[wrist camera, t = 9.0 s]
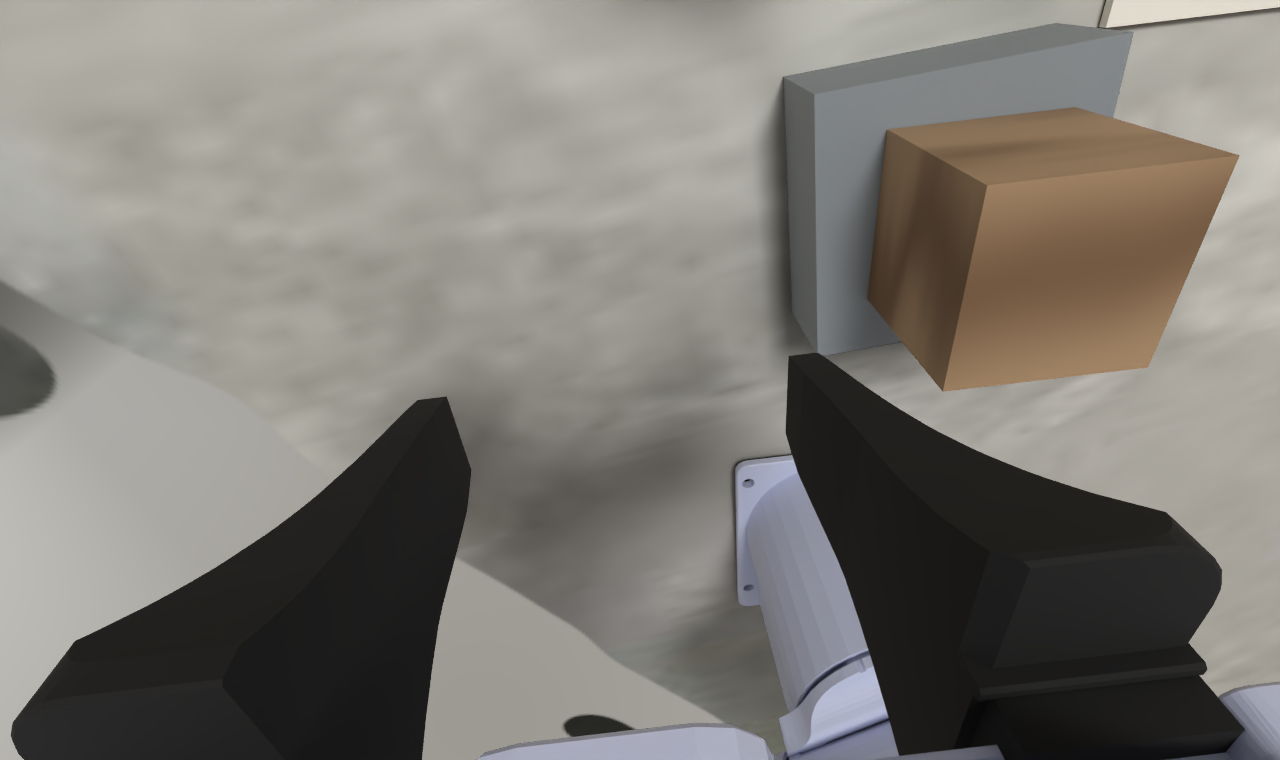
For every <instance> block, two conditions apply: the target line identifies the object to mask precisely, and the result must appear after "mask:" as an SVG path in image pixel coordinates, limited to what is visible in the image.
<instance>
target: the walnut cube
mask: <svg viewBox="0 0 1280 760" xmlns="http://www.w3.org/2000/svg"><path fill="white" fill-rule="evenodd" d="M1238 158H1239V155H1236V154H1233V153H1229V152H1226V151H1223V150H1219V149H1216V148H1212V147H1209V146H1206V145H1202V144H1199V143H1195V142H1192V141H1189V140H1185V139H1182V138H1178V137H1175V136H1172V135H1168V134H1165V133H1162V132H1158V131H1155V130H1151V129H1148V128H1145V127H1141V126H1138V125H1134V124H1131V123H1128V122H1124V121H1121V120H1117V119H1114V118H1111V117H1107V116H1104V115H1101V114H1097V113H1094V112H1090V111H1087V110H1084V109H1080V108H1077V107H1072V108H1064V109H1055V110H1047V111H1038V112H1030V113H1021V114H1013V115H1005V116H996V117H988V118H979V119H971V120H962V121H954V122H946V123H937V124H929V125H920V126H912V127H903V128H895V129H887V135H886V143H885V152H884V160H883V169H882V177H881V185H880V194H879V202H878V210H877V219H876V227H875V236H874V244H873V252H872V261H871V269H870V278H869V286H868V294H867V300H868V301H869V302H870V303H871V305H872V306H873V307H874V308H875V310H876V311H877V312H878V313H879V314H880V316H881V317H882V318H883V319H884V321H885V322H886V323H887V324H888V325H889V327H890V328H891V329H892V330H893V331H894V333H895V334H896V335H897V336H898V338H899V339H900V340H901V341H902V342H903V344H904V345H905V346H906V347H907V348H908V350H909V351H910V352H911V353H912V355H913V356H914V357H915V358H916V359H917V361H918V362H919V363H920V364H921V366H922V367H923V368H924V369H925V370H926V372H927V373H928V374H929V375H930V376H931V378H932V379H933V380H934V381H935V383H936V384H937V385H938V386H939V387H940V389H941V390H942V391H951V390H960V389H968V388H977V387H985V386H994V385H1002V384H1011V383H1019V382H1028V381H1036V380H1045V379H1053V378H1062V377H1070V376H1078V375H1087V374H1095V373H1104V372H1112V371H1121V370H1129V369H1138V368H1146V367H1148V366H1149V364H1150V362H1151V359H1152V357H1153V355H1154V352H1155V350H1156V348H1157V345H1158V343H1159V341H1160V338H1161V336H1162V334H1163V332H1164V329H1165V327H1166V325H1167V322H1168V320H1169V318H1170V315H1171V313H1172V311H1173V308H1174V306H1175V304H1176V301H1177V299H1178V297H1179V295H1180V292H1181V290H1182V288H1183V285H1184V283H1185V281H1186V278H1187V276H1188V274H1189V271H1190V269H1191V267H1192V264H1193V262H1194V260H1195V257H1196V255H1197V253H1198V251H1199V248H1200V246H1201V244H1202V241H1203V239H1204V237H1205V234H1206V232H1207V230H1208V227H1209V225H1210V223H1211V220H1212V218H1213V216H1214V213H1215V211H1216V209H1217V207H1218V204H1219V202H1220V200H1221V197H1222V195H1223V193H1224V190H1225V188H1226V186H1227V183H1228V181H1229V179H1230V176H1231V174H1232V172H1233V169H1234V167H1235V165H1236V163H1237V160H1238Z"/></svg>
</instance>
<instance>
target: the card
mask: <svg viewBox="0 0 1280 760" xmlns="http://www.w3.org/2000/svg"><path fill="white" fill-rule="evenodd" d="M1276 7H1280V0H1106V3H1105V7H1104V10H1103V14H1102V18H1101V21H1100V25H1099V27H1102V28H1109V27H1118V26H1126V25H1134V24H1143V23H1151V22H1159V21H1168V20H1176V19H1184V18H1193V17H1201V16H1209V15H1218V14H1226V13H1234V12H1243V11H1251V10H1259V9H1268V8H1276Z"/></svg>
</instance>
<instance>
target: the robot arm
mask: <svg viewBox="0 0 1280 760" xmlns="http://www.w3.org/2000/svg"><path fill="white" fill-rule="evenodd" d="M786 436H787V439H788V442H789V446H790V449H791V453H792V455H789V456H781V457H772V458H764V459H755V460H747V461H743V462H741V463H739V464H738V465H737V466H736V469H735V494H736V546H737V596H738V600H739V603H740V604H741V605H743V606H755V605H760V607H761V611H762V615H763V619H764V622H765V626H766V630H767V634H768V638H769V642H770V645H771V649H772V653H773V657H774V661H775V664H776V668H777V672H778V676H779V680H780V684H781V687H782V691H783V695H784V699H785V703H786V706H787V709H788V712H789V713H788V714H786V715H784V716H782V717H780V718H779V724H780V728H781V732H782V736H783V740H784V744H785V748H786V751H784V752H781V753H778V754H777V755H776V756H774V757H773V756H772V754H771V752H770V750H769V748H768V746H767V744H766V743H765V741H764V739H762V738H761V737H759V736H758V735H756V734H754V733H751V732H749V731H746V730H744V729H741V728H739V727H736V726H734V725H731V724H715V723H711V724H710V723H689V724H680V725H672V726H663V727H655V728H646V729H638V730H629V731H621V732H612V733H603V734H595V735H586V736H578V737H569V738H561V739H552V740H544V741H535V742H527V743H519V744H515V745H511V746H507V747H503V748H500V749H496V750H493V751H489V752H485V753H484V754H483V755H481V756H480V757H479V758H478V759H476V760H1280V682H1273V683H1264V684H1256V685H1247V686H1243V687H1239V688H1234V689H1232V690H1230V691H1228V692H1226V693H1223V694H1221V695H1220V696H1219V697H1217V696H1216V695H1215V693H1214V692H1213V691H1212V690H1211V689H1210V688H1209V686H1208V685H1207V684H1206V683H1205V682H1204V681H1203V679H1202V678H1201V677H1200V676H1199V675H1204V673H1205V672H1206V670H1207V666H1206V663H1205V661H1204V660H1203V659H1202V658H1201V657H1200V656H1199V655H1198V653H1197V652H1196V651H1195V650H1194V649H1193V648H1192V647H1191V645H1190V644H1189V643H1188V642H1189V641H1190V639H1191V638H1192V636H1193V635H1194V633H1195V632H1196V630H1197V629H1198V627H1199V626H1200V624H1201V623H1202V621H1203V620H1204V618H1205V617H1206V615H1207V614H1208V612H1209V611H1210V609H1211V608H1212V606H1213V605H1214V602H1215V600H1216V598H1217V596H1218V594H1219V592H1220V589H1221V585H1222V569H1221V568H1220V566H1219V564H1218V563H1217V561H1216V559H1215V558H1214V557H1213V556H1212V555H1211V554H1210V553H1209V552H1208V551H1207V550H1206V549H1205V548H1204V547H1202V546H1201V545H1200V544H1199V543H1198V542H1197V541H1196V540H1195V539H1194V538H1193V537H1192V536H1191V535H1190V534H1189V533H1188V532H1187V531H1186V530H1185V529H1183V528H1182V527H1181V526H1180V525H1179V524H1178V523H1177V522H1176V521H1175V520H1174V519H1173V518H1172V517H1171V516H1169V515H1168V514H1167V513H1166V512H1163V511H1159V510H1155V509H1151V508H1148V507H1144V506H1140V505H1136V504H1132V503H1128V502H1124V501H1120V500H1117V499H1113V498H1109V497H1105V496H1101V495H1097V494H1094V493H1090V492H1087V491H1084V490H1081V489H1078V488H1075V487H1071V486H1068V485H1065V484H1062V483H1059V482H1056V481H1053V480H1050V479H1047V478H1044V477H1041V476H1038V475H1036V474H1033V473H1030V472H1027V471H1025V470H1022V469H1019V468H1017V467H1015V466H1012V465H1010V464H1007V463H1005V462H1002V461H1000V460H997V459H995V458H992V457H990V456H988V455H985V454H983V453H981V452H978V451H976V450H974V449H972V448H970V447H968V446H966V445H964V444H962V443H960V442H958V441H956V440H954V439H952V438H950V437H948V436H945V435H943V434H941V433H940V432H938V431H936V430H934V429H932V428H930V427H929V426H927V425H925V424H923V423H922V422H920V421H918V420H917V419H915V418H913V417H912V416H910V415H908V414H907V413H905V412H903V411H902V410H900V409H898V408H897V407H895V406H894V405H892V404H891V403H889V402H887V401H886V400H884V399H883V398H881V397H880V396H878V395H877V394H876V393H874V392H873V391H871V390H870V389H868V388H867V387H865V386H864V385H863V384H861V383H860V382H858V381H857V380H856V379H854V378H853V377H851V376H850V375H849V374H847V373H846V372H844V371H843V370H842V369H840V368H839V367H838V366H836V365H835V364H833V363H832V362H831V361H829V360H828V359H827V358H825V357H824V356H822V355H821V354H819V353H811V354H802V355H794V356H789V363H788V388H787V413H786ZM470 478H471V468H470V465H469V462H468V459H467V456H466V453H465V450H464V447H463V444H462V441H461V438H460V435H459V432H458V429H457V426H456V423H455V420H454V417H453V414H452V411H451V408H450V405H449V402H448V399H447V397H440V398H431V399H423V400H417V401H416V402H415V403H414V404H413V405H412V406H411V407H410V408H408V409H407V410H406V411H405V412H404V413H403V414H402V415H401V416H400V417H399V418H398V419H397V420H396V421H395V422H394V423H393V424H392V425H391V426H390V427H389V428H388V429H387V430H386V431H385V432H384V433H383V434H382V435H381V436H380V437H379V438H378V439H377V440H376V441H375V442H374V443H373V444H372V445H371V446H370V447H369V448H368V449H367V450H366V451H365V452H364V453H363V454H362V455H361V456H360V457H359V458H358V459H357V460H356V461H355V462H354V463H353V464H352V465H350V466H349V467H348V468H347V469H346V470H345V471H344V472H343V473H342V474H341V475H339V476H338V477H337V478H336V479H335V480H334V481H333V482H332V483H331V484H329V485H328V486H327V487H326V488H325V489H324V490H323V491H322V492H321V493H319V494H318V495H317V496H316V497H315V498H313V499H312V500H311V501H310V502H308V503H307V504H306V505H305V506H304V507H302V508H301V509H300V510H298V511H297V512H296V513H294V514H293V515H292V516H291V517H289V518H288V519H287V520H286V521H284V522H283V523H281V524H280V525H279V526H278V527H276V528H275V529H273V530H272V531H270V532H269V533H268V534H266V535H265V536H263V537H262V538H260V539H259V540H257V541H256V542H254V543H253V544H251V545H250V546H248V547H247V548H245V549H243V550H242V551H240V552H239V553H238V554H236V555H234V556H233V557H231V558H230V559H228V560H227V561H225V562H224V563H222V564H221V565H219V566H217V567H216V568H214V569H212V570H211V571H209V572H207V573H206V574H204V575H202V576H201V577H199V578H197V579H195V580H194V581H192V582H191V583H188V584H187V585H185V586H183V587H181V588H180V589H178V590H176V591H174V592H173V593H171V594H169V595H167V596H165V597H163V598H161V599H160V600H158V601H156V602H154V603H152V604H150V605H148V606H147V607H144V608H142V609H140V610H138V611H136V612H134V613H132V614H130V615H128V616H126V617H124V618H122V619H120V620H118V621H116V622H114V623H112V624H110V625H108V626H106V627H104V628H102V629H100V630H98V631H96V632H94V633H92V634H89V635H87V636H85V637H83V638H81V639H79V640H76V641H75V642H74V643H73V645H72V646H71V647H70V649H69V650H68V651H67V652H66V654H65V655H64V656H63V658H62V659H61V660H60V662H59V663H58V664H57V665H56V667H55V668H54V669H53V671H52V672H51V673H50V675H49V676H48V677H47V679H46V680H45V681H44V682H43V684H42V685H41V686H40V688H39V689H38V690H37V692H36V693H35V694H34V696H33V697H32V698H31V699H30V701H29V702H28V703H27V705H26V706H25V707H24V709H23V710H22V711H21V713H20V714H19V715H18V717H17V718H16V719H15V720H14V722H13V725H12V731H11V737H12V740H13V743H14V745H15V747H16V749H17V751H18V754H19V755H20V756H21V757H22V758H23V759H24V760H422V752H423V742H424V731H425V721H426V713H427V704H428V696H429V688H430V680H431V671H432V664H433V658H434V651H435V644H436V638H437V631H438V624H439V620H440V615H441V610H442V606H443V602H444V598H445V594H446V590H447V586H448V582H449V579H450V575H451V571H452V567H453V564H454V560H455V556H456V552H457V548H458V545H459V541H460V537H461V533H462V529H463V525H464V521H465V517H466V512H467V505H468V497H469V488H470ZM746 479H751V480H750V481H747V482H744V480H746Z"/></svg>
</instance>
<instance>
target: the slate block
mask: <svg viewBox="0 0 1280 760" xmlns="http://www.w3.org/2000/svg"><path fill="white" fill-rule="evenodd" d="M1132 37H1133V32H1128V31H1119V30H1111V29H1102V28H1093V27H1085V26H1076V25H1067V24H1059V23H1054V24H1049V25H1044V26H1039V27H1034V28H1029V29H1024V30H1019V31H1013V32H1008V33H1003V34H998V35H993V36H988V37H983V38H978V39H973V40H968V41H963V42H958V43H953V44H947V45H942V46H937V47H932V48H927V49H922V50H917V51H912V52H907V53H902V54H897V55H892V56H887V57H881V58H876V59H871V60H866V61H861V62H856V63H851V64H846V65H841V66H836V67H831V68H826V69H821V70H815V71H810V72H805V73H800V74H795V75H790V76H785V77H783V84H784V110H785V137H786V164H787V190H788V217H789V244H790V270H791V297H792V313H793V315H794V317H795V319H796V320H797V322H798V324H799V326H800V327H801V329H802V331H803V332H804V334H805V336H806V338H807V339H808V341H809V343H810V345H811V346H812V348H813V350H814V351H815V353H819V354H821V355H822V356H826V355H831V354H837V353H843V352H848V351H854V350H860V349H865V348H871V347H877V346H882V345H888V344H894V343H899V342H902V341H901V340H900V339H899V338H898V336H897V335H896V334H895V333H894V331H893V330H892V329H891V328H890V327H889V325H888V324H887V323H886V322H885V321H884V319H883V318H882V317H881V316H880V314H879V313H878V312H877V311H876V310H875V308H874V307H873V306H872V305H871V303H870V302H869V301H868V300H867V294H868V286H869V278H870V269H871V261H872V252H873V244H874V236H875V227H876V219H877V210H878V202H879V194H880V185H881V177H882V169H883V160H884V152H885V143H886V135H887V129H895V128H903V127H912V126H920V125H929V124H937V123H946V122H954V121H962V120H971V119H979V118H988V117H996V116H1005V115H1013V114H1021V113H1030V112H1038V111H1047V110H1055V109H1064V108H1072V107H1077V108H1080V109H1084V110H1087V111H1090V112H1094V113H1097V114H1101V115H1104V116H1107V117H1111V118H1113V116H1114V112H1115V107H1116V103H1117V99H1118V95H1119V91H1120V87H1121V82H1122V78H1123V74H1124V70H1125V66H1126V62H1127V57H1128V53H1129V49H1130V45H1131V41H1132Z"/></svg>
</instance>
